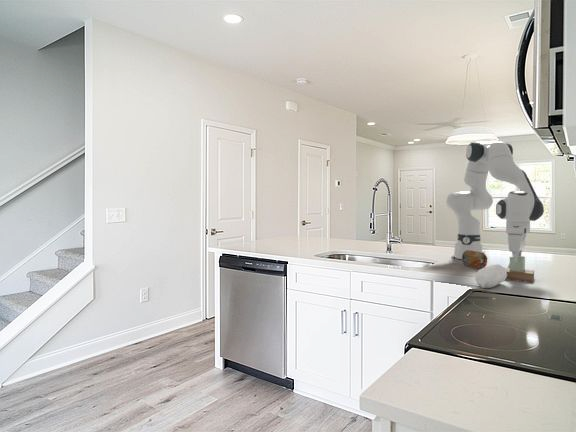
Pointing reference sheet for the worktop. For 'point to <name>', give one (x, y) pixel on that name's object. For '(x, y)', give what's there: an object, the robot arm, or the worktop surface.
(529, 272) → the brown block
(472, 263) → the tin
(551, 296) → the worktop surface
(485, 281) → the white plastic bottle
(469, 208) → the robot arm
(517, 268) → the sage block
